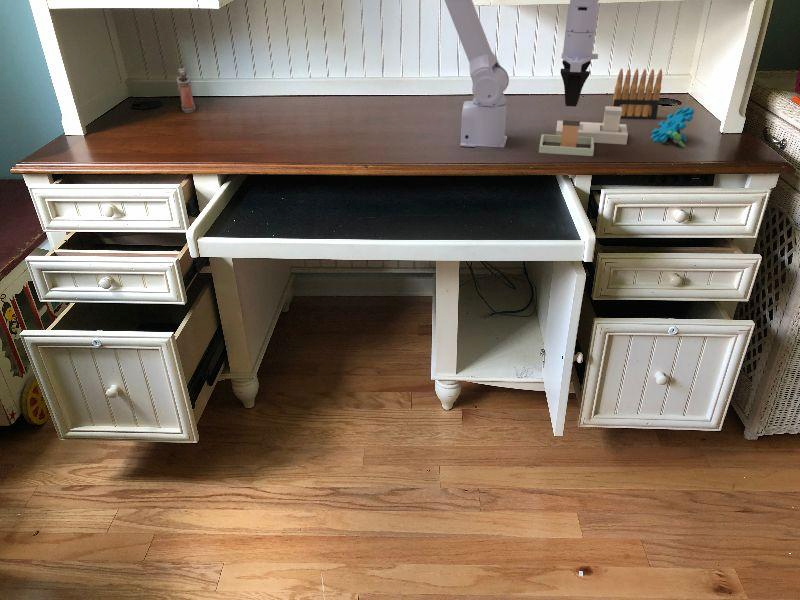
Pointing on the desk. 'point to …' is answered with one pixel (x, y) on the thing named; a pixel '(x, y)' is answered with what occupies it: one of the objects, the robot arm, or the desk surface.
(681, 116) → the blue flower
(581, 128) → the block
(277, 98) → the desk surface
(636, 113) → the ammunition clip
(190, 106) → the pink perfume bottle
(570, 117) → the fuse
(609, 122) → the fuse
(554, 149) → the parts tray
